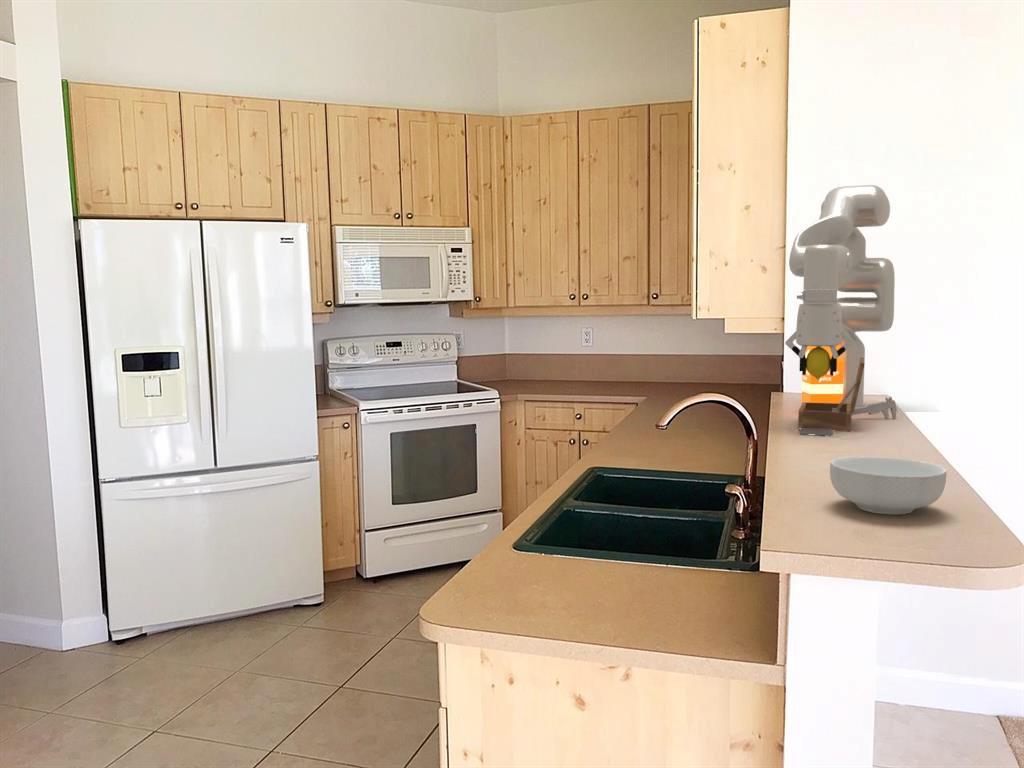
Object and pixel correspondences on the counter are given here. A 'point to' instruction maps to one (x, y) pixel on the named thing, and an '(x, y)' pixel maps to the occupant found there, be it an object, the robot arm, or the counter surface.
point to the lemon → (818, 362)
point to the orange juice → (824, 383)
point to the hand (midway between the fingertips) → (817, 374)
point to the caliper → (879, 408)
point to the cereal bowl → (887, 483)
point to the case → (831, 410)
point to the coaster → (816, 431)
